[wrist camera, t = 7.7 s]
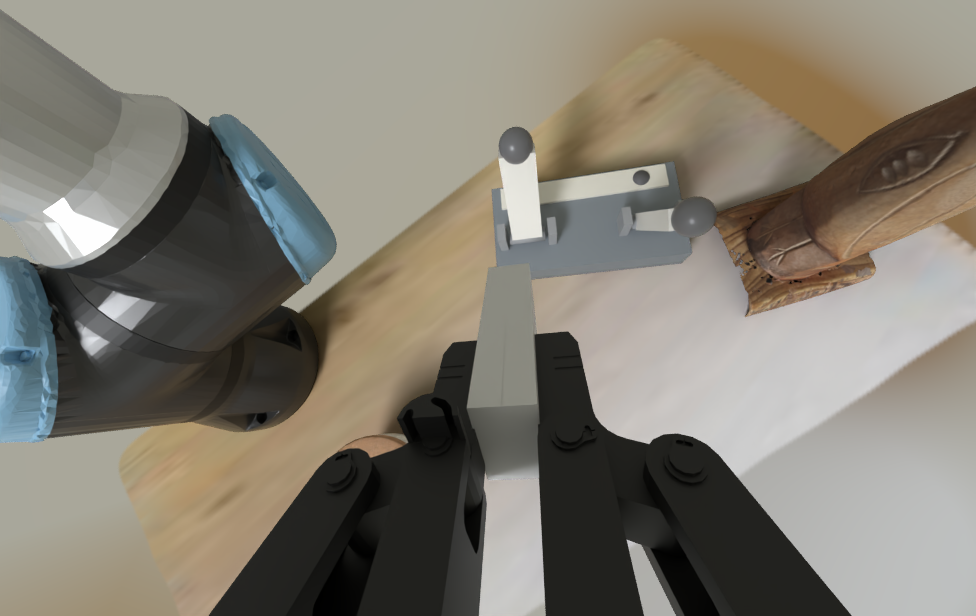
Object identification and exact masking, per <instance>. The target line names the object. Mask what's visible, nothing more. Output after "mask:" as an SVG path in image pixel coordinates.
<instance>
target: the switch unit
mask: <svg viewBox="0 0 976 616" xmlns="http://www.w3.org/2000/svg"><path fill="white" fill-rule="evenodd" d="M538 191H539V203H540V214H541V226H542V227H545V238H546V240H545V241H537V242H529V243H521V244H513V245H511V244H510V238H509V231H511V228H510V222H509V217H508V211H507V205H506V199H505V194H504V188H497V189H492V201H493V216H494V230H495V245H496V260H497V267H500V266H509V265H517V264H525V263H529V266H530V275H531V280H532V279H541V278H550V277H559V276H568V275H578V274H587V273H596V272H605V271H614V270H624V269H633V268H642V267H651V266H660V265H670V264H679V263H682V262H683V261H684V260H685V259H686V258H687V257H688V256H690V255H691V254H692V249H691V244H690V239H689V237H684V236H682V235H680V234H678V233H677V232H676V231H641V230H636V229H633V230H631V227H632V225H633V220H632V215H635V213H642V212H650V211H657V210H664V209H671V208H675V207H676V206H677V205H678V204H679V203H680V202H681V201H683V200H685V199H681V194H680V189H679V184H678V179H677V174H676V169H675V164H674V161H673V162H667V163H660V164H654V165H647V166H641V167H634V168H628V169H621V170H615V171H608V172H602V173H595V174H589V175H582V176H576V177H569V178H563V179H556V180H549V181H543V182H538Z"/></svg>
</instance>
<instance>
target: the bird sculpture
mask: <svg viewBox="0 0 976 616" xmlns="http://www.w3.org/2000/svg"><path fill="white" fill-rule="evenodd" d="M975 206H976V87H973V88H972V89H969V90H967V91H964V92H962V93H959V94H956V95H954V96H952V97H950V98H948V99H945V100H943V101H940V102H938V103H935V104H933V105H930V106H928V107H925V108H923V109H921V110H919V111H916V112H914V113H911V114H909V115H906V116H904V117H903V118H900V119H898V120H896V121H894V122H892V123H890V124H888V125H887V126H885V127H883V128H882V129H880V130H878V131H876V132H875V133H873V134H872V135H870V136H868V137H867V138H866V139H864V140H863V141H862V142H860V143H859V144H858V145H856V146H855V147H853V148H852V149H851V150H849V151H848V152H847V153H845V154H844V155H842V156H841V157H840V158H838V159H837V160H836V161H834V162H833V163H831V164H830V165H829V166H828V167H827V168H825V169H824V170H823V171H822V172H821V173H820V174H818V175H816V176H815V177H814V178H812V179H811V180H810V181H808V182H805V183H803V184H800V185H797V186H794V187H791V188H789V189H786V190H783V191H780V192H777V193H775V194H772V195H769V196H765V197H762V198H759V199H756V200H753V201H751V202H747V203H744V204H741V205H738V206H735V207H732V208H729V209H726V210H723V211H720V212H717V217H716V221H715V223H714V226H715V227H717V228H718V229H719V233H720V234H722V236H723V240H724V243H725V244H726V246H727V249H728V252H729V253H730V256H731V258H733V263H734V264H735V266H738V265H740V266H741V268H743V269H744V272H745V271H746V270H747V271H748V272H747V273H744V272H743V274H744V276H742V275H740V276H741V279H742V281H743V284H744V287H745V290H746V291H747V292H748V298H749V312H748V314H747V315H746V316H745V317H747V316H750V315H753V314H757V313H761V312H764V311H768V310H772V309H775V308H778V307H781V306H785V305H789V304H792V303H795V302H798V301H803V300H806V299H809V298H812V297H815V296H818V295H821V294H824V293H827V292H831V291H834V290H836V289H840V288H843V287H846V286H849V285H852V284H855V283H858V282H861V281H864V280H867V279H869V278H871V277H872V276H873V275H874V273H875V271H876V267H875V265H874V262H873V260H872V259H871V258H870V257H869V253H868V252H869V251H872V250H874V249H877V248H879V247H882V246H885V245H887V244H890V243H892V242H894V241H897V240H899V239H902V238H904V237H906V236H908V235H911V234H913V233H916V232H918V231H920V230H922V229H924V228H927V227H930V226H932V225H934V224H937V223H939V222H941V221H943V220H946V219H948V218H950V217H953V216H955V215H958V214H960V213H962V212H964V211H966V210H969V209H971V208H973V207H975ZM750 217H751V218H752V219H750ZM757 220H758V221H757ZM754 221H756V222H754ZM752 222H754V223H752ZM750 226H751V228H749V227H750ZM747 228H749V230H746V229H747ZM732 249H733V250H734V251H733V252H735V253H736V255H734V253H733V252H731V250H732ZM739 252H740V258H738V259H739V260H736V258H737V256H738V253H739ZM743 254H744V255H743ZM753 259H755V260H756V261H754V260H753ZM734 260H736V261H734ZM740 260H743V261H744V262H742V264H739V263H740ZM749 260H750V261H751V260H752V261H753V262H749ZM745 262H746V263H747V262H748V263H750V265H749V266H748V265H746V264H745ZM839 264H840V265H839ZM752 265H754V266H756V267H757V268H756V269H753V267H754V266H752ZM836 265H839V266H838V267H836ZM749 268H750V269H749ZM819 272H821V276H819ZM740 274H741V273H740ZM768 274H770V275H771V276H773V278H772V279H771V278H769V275H768ZM761 277H764V278H761ZM802 278H804V279H802ZM794 280H797V281H802V283H800V282H797V283H796V282H794ZM790 282H792V284H789V283H790ZM758 289H759V292H758ZM753 291H754V292H753Z"/></svg>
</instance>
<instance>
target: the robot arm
mask: <svg viewBox="0 0 976 616" xmlns="http://www.w3.org/2000/svg"><path fill="white" fill-rule="evenodd" d="M209 123H210V124H209V126H207V125H205V124H203V123H201V122H200V121H199V120H197V119H196V118H195V117H194V116H192V115H191V114H190V113H188V112H187V111H186V110H185V109H183V108H182V107H181V106H180V105H178V104H177V103H175V102H174V101H172V100H171V99H169V98H167V97H163V96H154V95H141V94H127V93H123V92H119V91H116V90H113V89H111V88H110V87H108V86H107V85H106V84H104V83H103V82H101V81H100V80H99V79H97V78H96V77H94V76H93V75H92V74H90V73H89V72H88V71H86V70H85V69H83V68H82V67H80V66H79V65H78V64H76V63H75V62H73V61H72V60H71V59H69V58H68V57H66V56H65V55H64V54H62V53H61V52H59V51H58V50H57V49H55V48H53V47H52V46H51V45H50V44H48V43H46V42H45V41H44V40H43V39H41V38H40V37H38V36H37V35H35V34H34V33H33V32H31V31H29V30H28V29H27V28H26V27H24V26H23V25H21V24H20V23H18V22H17V21H16V20H14V19H13V18H12V17H10V16H9V15H7V14H6V13H4V12H3V11H2V10H0V219H2V220H4V221H6V222H7V223H8V224H9V225H10V226H11V227H12V228H13V229H14V230H15V231H16V233H17V235H18V237H19V238H20V240H21V242H22V243H23V245H24V247H25V248H26V250H27V252H28V253H29V255H30V256H31V257H32V258H33V259H34V260H35V261H37V262H38V263H41V264H34V263H30V262H29V261H28V260H26V259H23V258H19V257H17V256H13V257H9V258H7V257H0V443H1V442H40V441H44V439H46V438H55V437H63V436H72V435H81V434H89V433H97V432H107V431H116V430H124V429H133V428H141V427H150V426H159V425H168V424H176V423H185V422H194V423H198V424H202V425H206V426H211V427H215V428H219V429H223V430H227V431H233V432H249V431H256V430H262V429H267V428H270V427H273V426H276V425H278V424H280V423H281V422H283V421H285V420H286V419H288V418H289V417H290V416H291V415H293V414H294V413H295V412H296V411H297V410H298V409H299V407H300V406H301V405H302V404H303V402H304V401H305V399H306V398H307V396H308V394H309V392H310V390H311V388H312V386H313V383H314V380H315V377H316V373H317V367H318V348H317V342H316V339H315V336H314V333H313V331H312V329H311V327H310V325H309V324H308V323H307V321H306V320H305V319H304V318H303V317H302V316H301V315H300V314H299V313H297V312H296V311H294V310H292V309H290V308H288V307H284V306H281V304H282V303H283V302H285V301H286V300H287V299H288V298H289V297H291V296H292V295H293V294H294V293H296V292H297V291H298V290H299V289H301V288H302V287H303V286H304V285H306V284H307V285H308V284H309V283H310V282H311V278H312V277H313V276H314V275H315V274H316V273H317V272H318V271H319V270H320V269H321V268H322V267H324V266H325V265H326V264H327V263H328V262H329V261H330V260H331V259H332V257H333V256H334V254H335V252H336V245H337V244H336V239H335V236H334V233H333V231H332V229H331V228H330V226H329V224H328V223H327V221H326V219H325V218H324V217H323V215H322V214H321V212H320V211H319V210H318V208H317V207H316V206H315V204H314V203H313V202H312V200H311V199H310V198H309V196H308V195H307V194H306V192H305V191H304V190H303V189H302V187H301V186H300V185H299V184H298V182H297V181H296V180H295V179H294V177H293V176H292V175H291V174H290V173H289V172H288V170H287V169H286V168H285V167H284V166H283V164H282V163H281V162H280V161H279V160H278V159H277V158H276V156H275V155H274V154H273V153H272V152H271V151H270V150H269V149H268V148H267V147H266V145H265V144H264V143H263V142H262V141H261V140H260V139H259V138H258V137H257V136H256V135H255V134H254V133H253V132H252V131H251V130H250V129H249V128H248V127H246V126H245V125H244V124H242V123H241V122H240V121H239V120H238V119H237V118H235V117H234V116H232V115H228V114H224V115H221V116H220V117H211V118H210V120H209ZM437 378H438V380H436V384H435V388H434V392H433V393H431V394H426V395H422V396H420V397H418V398H416V399H414V400H412V401H411V402H410V403H409V404H407V405H406V406H405V407H404V408H403V409H402V411H401V413H400V414H399V416H398V418H397V420H398V422H399V424H400V426H401V428H402V430H403V433H404V435H405V437H406V439H407V441H408V443H407V444H405V445H404V446H401V447H399V448H397V449H395V450H392V451H389V452H386V453H383V454H380V455H377V456H374V457H371V458H370V456H369V454H368V453H367V452H366V451H364V450H362V449H360V448H349V449H346V450H343V451H340V452H337V453H336V454H334V455H333V456H331V457H330V458H328V459H327V460H326V461H325V462H324V463H323V464H322V465H321V466H320V467H319V468H318V469H317V470H316V472H315V473H314V474H313V476H312V477H311V478H310V480H309V481H308V482H307V484H306V485H305V486H304V488H303V489H302V490H301V492H300V493H299V494H298V496H297V497H296V499H295V500H294V501H293V503H292V504H291V505H290V507H289V508H288V509H287V511H286V512H285V513H284V515H283V516H282V517H281V519H280V520H279V521H278V523H277V524H276V525H275V527H274V528H273V530H272V531H271V532H270V534H269V535H268V536H267V538H266V539H265V540H264V542H263V543H262V544H261V546H260V547H259V548H258V550H257V551H256V552H255V554H254V555H253V556H252V558H251V559H250V561H249V562H248V563H247V565H246V566H245V567H244V569H243V570H242V571H241V573H240V574H239V575H238V577H237V578H236V579H235V581H234V582H233V583H232V585H231V586H230V587H229V589H228V590H227V592H226V593H225V594H224V596H223V597H222V598H221V600H220V601H219V602H218V604H217V605H216V606H215V608H214V609H213V610H212V612H211V613H210V614H209V616H479V603H480V589H481V575H482V562H483V548H484V534H485V520H486V506H487V503H486V495H485V491H484V488H483V487H484V476H485V472H486V475H487V479H488V480H512V479H539V485H540V506H541V526H542V547H543V567H544V588H545V609H546V616H644V614H643V610H642V606H641V601H640V596H639V592H638V588H637V583H636V579H635V575H634V571H633V566H632V562H631V557H630V553H629V549H628V544H627V540H630V541H632V542H635V543H638V544H641V545H642V547H643V549H644V551H645V553H646V555H647V557H648V559H649V561H650V563H651V565H652V567H653V569H654V571H655V573H656V575H657V577H658V580H659V582H660V584H661V586H662V588H663V590H664V592H665V594H666V596H667V598H668V600H669V602H670V604H671V606H672V608H673V610H674V612H675V614H676V616H851V614H850V613H849V612H848V611H847V610H846V608H845V607H844V606H843V605H842V603H841V602H840V601H839V600H838V599H837V597H836V596H835V595H834V594H833V593H832V591H831V590H830V589H829V588H828V587H827V586H826V584H825V583H824V582H823V581H822V579H821V578H820V577H819V576H818V575H817V574H816V572H815V571H814V570H813V569H812V567H811V566H810V565H809V564H808V562H807V561H806V560H805V559H804V558H803V556H802V555H801V554H800V553H799V552H798V550H797V549H796V548H795V547H794V546H793V544H792V543H791V542H790V541H789V540H788V538H787V537H786V536H785V535H784V533H783V532H782V531H781V530H780V529H779V527H778V526H777V525H776V524H775V523H774V521H773V520H772V519H771V518H770V516H769V515H768V514H767V513H766V512H765V511H764V509H763V508H762V507H761V506H760V504H759V503H758V502H757V501H756V500H755V499H754V497H753V496H752V495H751V494H750V493H749V491H748V490H747V489H746V487H745V486H744V485H743V484H742V483H741V481H740V480H739V479H738V478H737V477H736V475H735V474H734V473H733V472H732V471H731V469H730V468H729V467H728V466H727V465H726V463H725V462H724V461H723V460H722V458H721V457H720V456H719V455H718V454H717V453H716V452H715V451H713V450H712V449H711V448H710V447H709V446H708V445H707V444H705V443H703V442H701V441H699V440H697V439H695V438H693V437H690V436H686V435H681V434H665V435H662V436H660V437H658V438H656V439H653V440H652V442H651V443H650V444H646V443H642V442H638V441H634V440H630V439H626V438H623V437H620V436H617V435H615V434H614V433H612V432H610V431H608V430H607V429H606V428H605V427H604V426H602V425H601V424H600V422H599V421H598V420H597V418H596V417H595V414H594V412H593V408H592V404H591V399H590V395H589V390H588V386H587V381H586V377H585V373H584V369H583V364H582V359H581V355H580V350H579V346H578V342H577V341H576V340H575V339H574V337H573V336H572V335H571V334H570V333H569V332H557V333H545V334H537V330H536V318H535V310H534V301H533V292H532V284H531V275H530V266H529V263H525V264H517V265H509V266H500V267H492V268H489V269H488V275H487V282H486V288H485V294H484V301H483V307H482V314H481V320H480V326H479V333H478V339H477V341H466V342H454V343H452V344H451V346H450V347H449V348H448V349H447V351H446V352H445V353H444V355H443V358H442V362H441V366H440V369H439V373H438V377H437ZM626 539H627V540H626Z"/></svg>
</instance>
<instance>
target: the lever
mask: <svg viewBox="0 0 976 616" xmlns="http://www.w3.org/2000/svg"><path fill="white" fill-rule="evenodd" d="M716 217H717V211H716V208H715V206H714V204H713V203H712V202H711V201H710V200H708V199H706V198H703V197H690V198H687V199H685V200H683V201H681V202H680V203H679V204H678V205H677V206H676V207H675V208H671V209H664V210H657V211H650V212H642V213H635V215H632V220H633V225H632V227H631V230H633V229H636V230H641V231H676V232H677V233H678V234H680V235H682V236H684V237H698V236H701V235H703V234H705V233H706V232H708V231H709V230H710V229H711V228H712V227H713V225H714V223H715V221H716Z"/></svg>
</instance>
